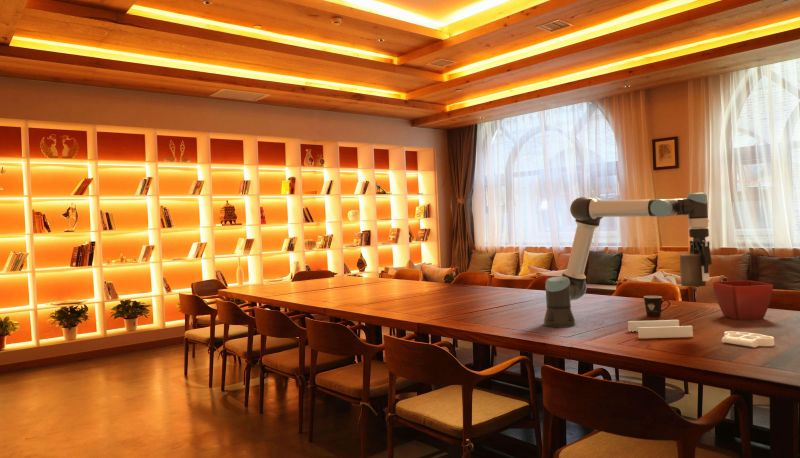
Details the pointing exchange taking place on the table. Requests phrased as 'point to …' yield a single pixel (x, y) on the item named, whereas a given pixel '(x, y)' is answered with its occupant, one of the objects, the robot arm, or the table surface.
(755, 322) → the table surface
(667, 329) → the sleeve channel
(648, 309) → the coffee mug
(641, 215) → the robot arm
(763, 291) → the plant pot
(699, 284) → the pillar candle
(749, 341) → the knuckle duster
